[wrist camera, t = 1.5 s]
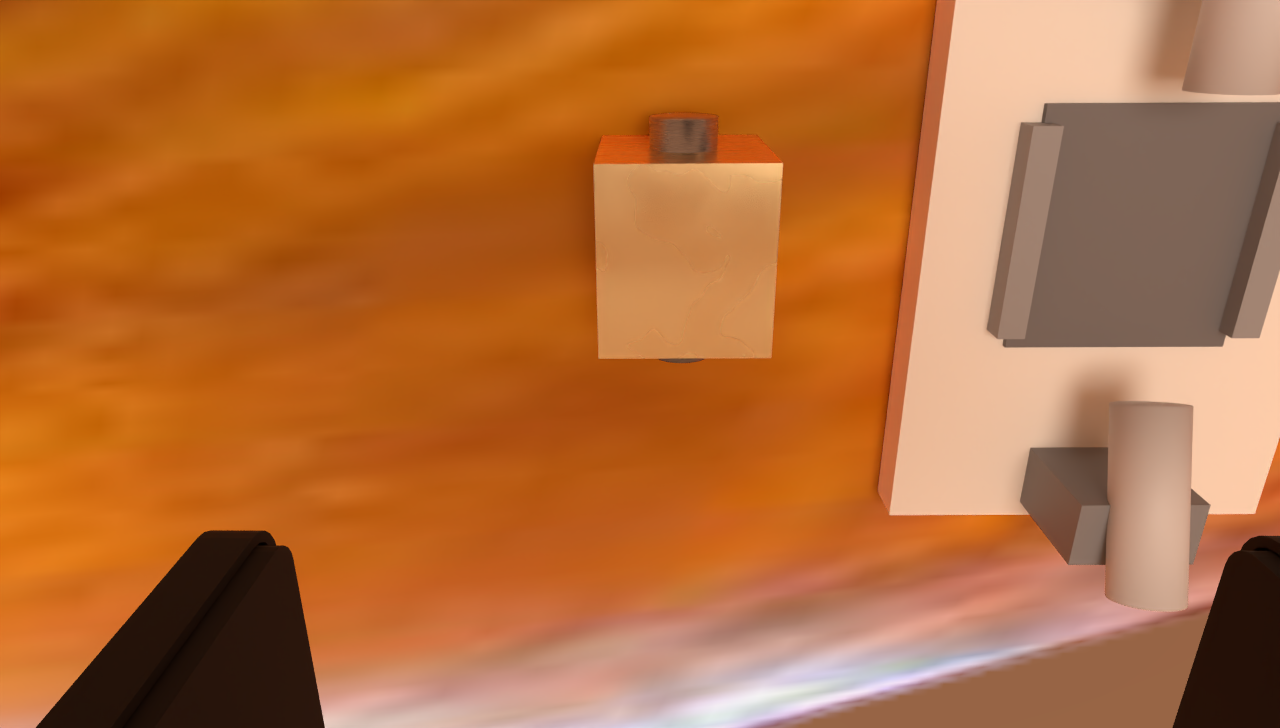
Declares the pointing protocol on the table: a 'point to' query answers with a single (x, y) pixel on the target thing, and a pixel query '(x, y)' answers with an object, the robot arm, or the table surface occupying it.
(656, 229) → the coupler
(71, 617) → the table surface
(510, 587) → the table surface
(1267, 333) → the shaft frame
